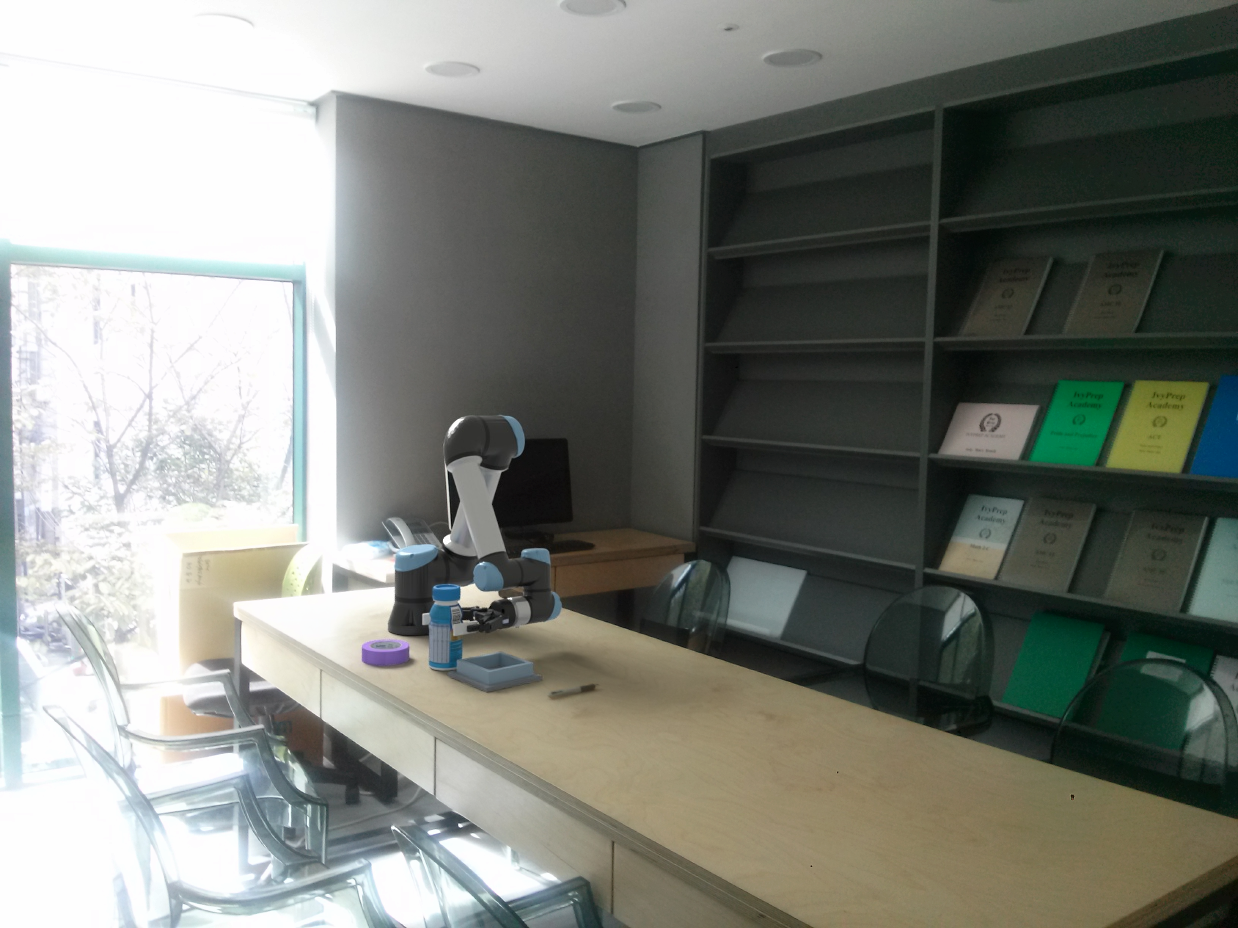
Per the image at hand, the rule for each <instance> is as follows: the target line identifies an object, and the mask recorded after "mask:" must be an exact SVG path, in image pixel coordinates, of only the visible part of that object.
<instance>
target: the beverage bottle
mask: <svg viewBox="0 0 1238 928" xmlns="http://www.w3.org/2000/svg"><path fill="white" fill-rule="evenodd" d="M461 590H462V589H461V587H460V586H458V585H452V584H442V585H436V586H434V587H433V600H434V601H435V603H434V604H433V606H432V608H431V610H430V613H429V616H430V618H431V620H430V622H429V634H428V649H429V650H428V666H429V668H430V669H432V670H435V671H443V672H445V671H446V672H450V671H455V670H457V660H460V659H463V647H464V646H463V644H464V643H463V637H464V635H459V636H453V624H459V623H464V620H462V616H463V610H462V608H461V607H462V606H461V604H460V603H459V601H460V600H461V593H462V591H461Z"/></svg>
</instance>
